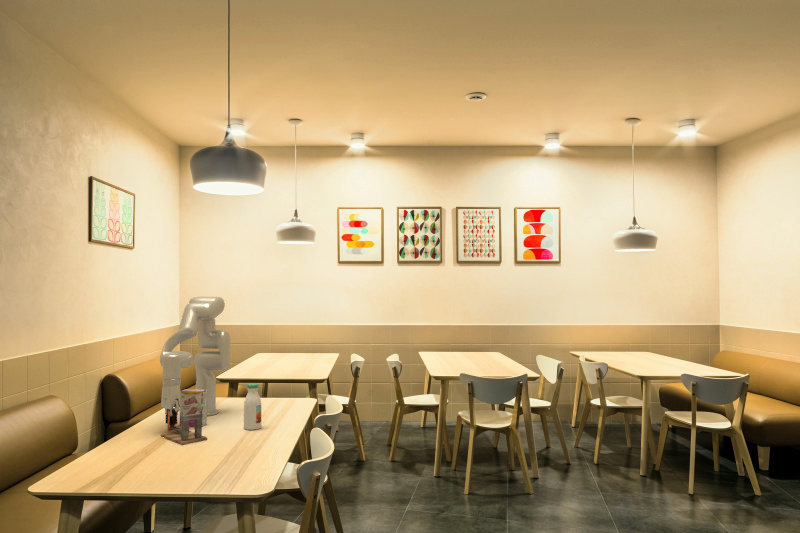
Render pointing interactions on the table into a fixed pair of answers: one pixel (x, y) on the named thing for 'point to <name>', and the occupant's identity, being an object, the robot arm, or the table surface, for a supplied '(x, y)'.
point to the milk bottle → (252, 408)
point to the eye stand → (184, 436)
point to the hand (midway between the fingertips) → (171, 423)
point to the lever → (173, 427)
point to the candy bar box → (194, 404)
